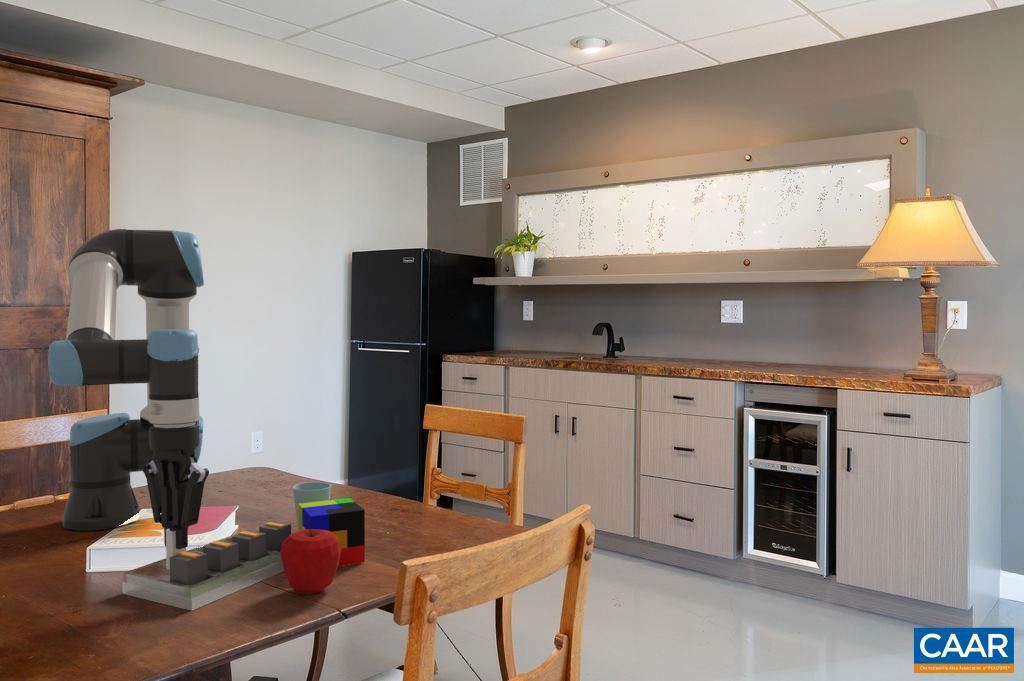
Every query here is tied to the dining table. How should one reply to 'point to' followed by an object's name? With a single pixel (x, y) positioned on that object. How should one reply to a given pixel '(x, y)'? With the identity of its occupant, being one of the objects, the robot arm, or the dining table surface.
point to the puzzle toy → (337, 525)
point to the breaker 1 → (188, 567)
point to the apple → (310, 559)
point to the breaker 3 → (250, 545)
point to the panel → (159, 588)
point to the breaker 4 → (275, 534)
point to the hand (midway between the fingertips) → (176, 566)
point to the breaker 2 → (221, 556)
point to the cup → (311, 493)
